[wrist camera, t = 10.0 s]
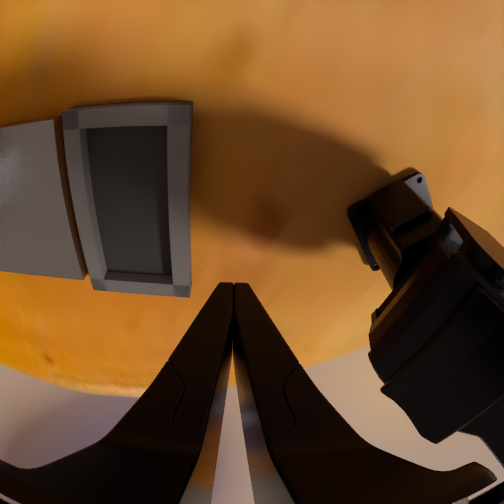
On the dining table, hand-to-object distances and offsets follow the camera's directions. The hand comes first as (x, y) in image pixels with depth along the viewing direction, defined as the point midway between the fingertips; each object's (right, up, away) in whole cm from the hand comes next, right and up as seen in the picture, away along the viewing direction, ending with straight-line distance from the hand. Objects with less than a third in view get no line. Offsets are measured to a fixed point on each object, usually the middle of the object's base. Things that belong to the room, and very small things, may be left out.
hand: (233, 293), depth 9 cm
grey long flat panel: (-29, +6, +9) cm, 31 cm away
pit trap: (-8, +5, +11) cm, 14 cm away
